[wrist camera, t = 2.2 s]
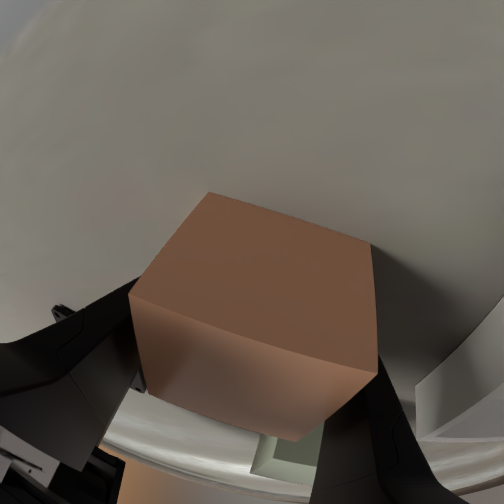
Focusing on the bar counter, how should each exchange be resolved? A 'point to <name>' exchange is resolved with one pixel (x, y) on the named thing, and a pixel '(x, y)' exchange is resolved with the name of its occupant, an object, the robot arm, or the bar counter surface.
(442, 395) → the tote
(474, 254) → the bar counter surface
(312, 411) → the brick
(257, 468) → the pale green block
